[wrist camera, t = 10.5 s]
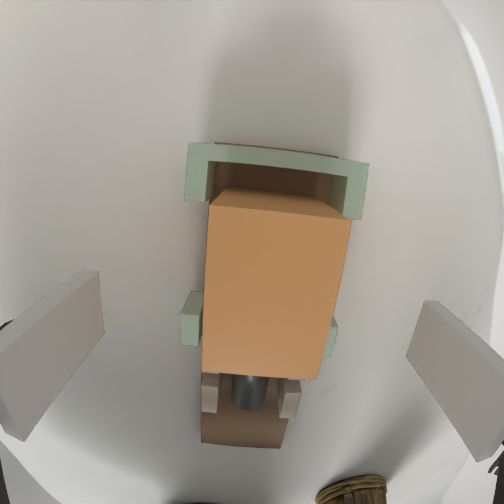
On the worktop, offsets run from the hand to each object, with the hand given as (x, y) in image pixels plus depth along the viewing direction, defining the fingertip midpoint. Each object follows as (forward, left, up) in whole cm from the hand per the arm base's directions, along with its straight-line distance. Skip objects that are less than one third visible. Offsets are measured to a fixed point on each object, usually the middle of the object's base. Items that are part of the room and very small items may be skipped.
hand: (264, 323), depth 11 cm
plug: (-3, 0, -7) cm, 8 cm away
